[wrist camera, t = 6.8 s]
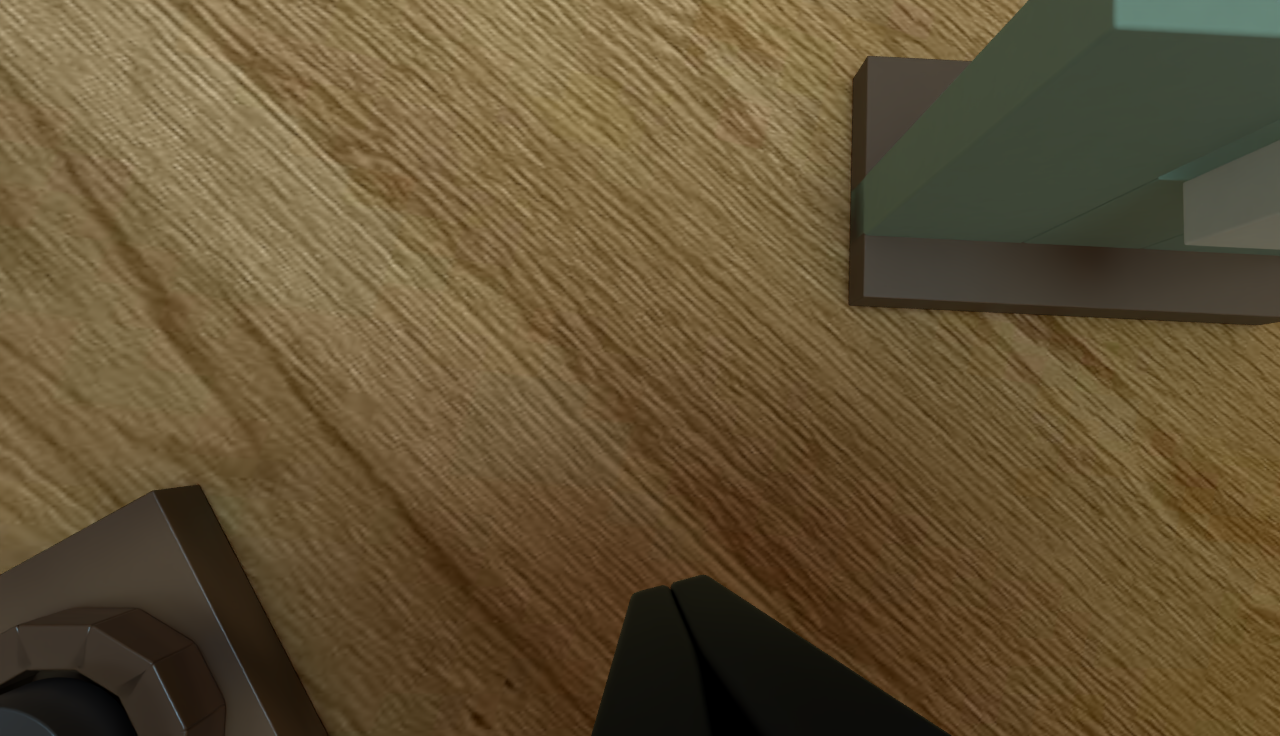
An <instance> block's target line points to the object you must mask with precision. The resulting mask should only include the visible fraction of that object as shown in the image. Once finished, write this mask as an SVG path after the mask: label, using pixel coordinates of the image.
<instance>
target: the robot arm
mask: <svg viewBox="0 0 1280 736" xmlns="http://www.w3.org/2000/svg"><path fill="white" fill-rule="evenodd" d="M591 736H951V735H950V734H948V733H947V732H945V731H944V730H942V729H941V728H939V727H938V726H936V725H935V724H933V723H932V722H930V721H928V720H927V719H925V718H924V717H922V716H921V715H919V714H918V713H916V712H915V711H913V710H912V709H910V708H909V707H907V706H906V705H904V704H903V703H901V702H900V701H898V700H896V699H895V698H893V697H892V696H890V695H889V694H887V693H886V692H884V691H883V690H881V689H880V688H878V687H877V686H875V685H874V684H872V683H871V682H869V681H867V680H866V679H864V678H863V677H861V676H860V675H858V674H857V673H855V672H854V671H852V670H851V669H849V668H848V667H846V666H845V665H843V664H842V663H840V662H839V661H837V660H835V659H834V658H832V657H831V656H829V655H828V654H826V653H825V652H823V651H822V650H820V649H819V648H817V647H816V646H814V645H813V644H811V643H810V642H808V641H807V640H805V639H803V638H802V637H800V636H799V635H797V634H796V633H794V632H793V631H791V630H790V629H788V628H787V627H785V626H784V625H782V624H781V623H779V622H778V621H776V620H775V619H773V618H771V617H770V616H768V615H767V614H765V613H764V612H762V611H761V610H759V609H758V608H756V607H755V606H753V605H752V604H750V603H749V602H747V601H746V600H744V599H743V598H741V597H739V596H738V595H736V594H735V593H733V592H732V591H730V590H729V589H727V588H726V587H724V586H723V585H721V584H720V583H718V582H717V581H715V580H714V579H712V578H711V577H709V576H706V575H699V576H695V577H692V578H688V579H684V580H680V581H677V582H674V583H673V584H672V585H671V588H669V587H667V586H665V585H662V586H658V587H654V588H650V589H646V590H642V591H639V592H636V593H634V594H633V595H632V597H631V599H630V602H629V606H628V609H627V613H626V616H625V620H624V623H623V627H622V630H621V633H620V637H619V640H618V644H617V647H616V651H615V654H614V658H613V661H612V665H611V668H610V672H609V675H608V679H607V682H606V686H605V689H604V693H603V696H602V700H601V703H600V707H599V710H598V714H597V717H596V721H595V724H594V728H593V731H592V735H591Z"/></svg>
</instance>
